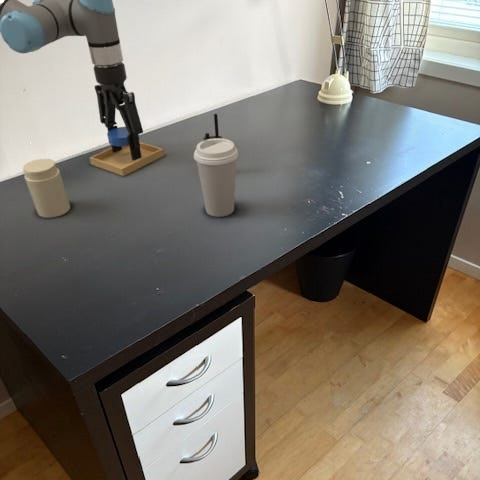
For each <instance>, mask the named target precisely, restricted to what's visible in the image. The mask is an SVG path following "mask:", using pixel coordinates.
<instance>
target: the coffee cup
mask: <svg viewBox="0 0 480 480" xmlns="http://www.w3.org/2000/svg"><path fill="white" fill-rule="evenodd" d="M203 140H204V139H203ZM203 140H201V141H200V142H198V143H197V145H196V149H195V150H194V152H193V159H194V161H196V165H197V170H198V177H199V180H200V185H201V192H202V196H203V203H204V208H205V212H206V213H207V215H209V216H211V217H216V218H223V217H227V216H229V215H231V214H232V213H233V212H234V211H235V197H236V175H237V174H236V173H237V159H238V158H239V150H238V149H237V147H236V145H235V143H234V142H233V141H232V140H230V139H226V138H222V139H221V138H214V139H208V140H204V141H203Z"/></svg>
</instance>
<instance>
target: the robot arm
mask: <svg viewBox="0 0 480 480" xmlns="http://www.w3.org/2000/svg"><path fill="white" fill-rule="evenodd" d="M33 1H34V2H33ZM33 1H32V4H31V5H26V4H25V3H23V2H21V1H20V0H0V35H1V38H2V40H3V41H4V42H5V43H6V45H7V46H8V47H9V49H11V50H12V51H14V52H16V53H18V54H28V53H34V52H36V51H39V50H40V49H42V48H43V47H45V46H47V45H49V44H52V43H54V42H56V41H58V40H60V39H63V38H65V37H85V38H86V41H87V46H88V50H89V51H88V52H89V55H90V59H91V63H92V64H93V65H94V66H93V73H94V77H95V82H96V83H97V84H95V85H94V90H95V94H96V98H97V99H96V100H97V106H98V114H99V121H100V123H101V124H102V125H103V124H104V127H105V128H106V130H107V133H108V132H109V131H110V130H112V129H115V128H119V126H118V122H117V121H116V112H117V111H118V112H119V114H120V116H121V119H122V121H123V123H124V127H126V128H127V131H128V133H129V135H127V137H128V142H129V147H130V152H131V157H132V160H133V161H134V160H137V159H139V158H141V157H142V156H141V151H140V143H139V142H140V136H139V137H138V135H141V134H143V133H144V130H143V126H142V122H141V118H140V115H139V111H138V108H137V104H136V97H135V96H136V95H135V93H134V92H133V91H131V92H129V91H127V89H126V85H125V81H126V80H127V78H128V77H127V72H126V67H125V63H124V62H123V61H124V57H123V51H122V45H121V40H120V35H119V30H118V24H117V23H118V22H117V18H116V9H115V6H114V2H113V0H33ZM116 110H117V111H116ZM110 146H111V148H112V151H113V152H114V153H115V152H117V151H120V150H122V146H113V145H111V144H110Z"/></svg>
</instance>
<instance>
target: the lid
mask: <svg viewBox="0 0 480 480" xmlns="http://www.w3.org/2000/svg"><path fill="white" fill-rule="evenodd" d="M106 135H107V140H108V144H109V145H110V146H111V145H113V146H128V145H129V142H128V137H127V135H129V133H128V131H127V128H126V126H118V128H115V129H112V130H110V131H109V132H108V131H107V133H106ZM138 137H139V138H140V134H138Z"/></svg>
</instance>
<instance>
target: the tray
mask: <svg viewBox="0 0 480 480" xmlns="http://www.w3.org/2000/svg"><path fill="white" fill-rule="evenodd" d="M139 143H140V151H141V156H142V157H141V158H139V159H137V160H134V161H133V160H132V157H131V152H130V147H129V145H128V146H122V150H120V151H117V152H115V153H114V152H113V151H112V147H110V148H108V149H105V150H103V151H101V152H99V153H97V154H94V155H92V156H90V157H89V161H90V165H91V166H94V167H97V168H99V169H102V170H105V171H108V172H111V173H113V174H117V175H119V176H121V177H125V176H127V175H129V174H131V173H132V172H133V173H134V172H135V171H137V170H139V169H142V167H145V166H146V165H149V164H150V163H153V162H155V161H157V160H159V159H160V158H163V157H164V156H165V154H164V153H165V152H164V148H161V147H158V146H155V145H151V144H148V143H145V142H141V141H139Z"/></svg>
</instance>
